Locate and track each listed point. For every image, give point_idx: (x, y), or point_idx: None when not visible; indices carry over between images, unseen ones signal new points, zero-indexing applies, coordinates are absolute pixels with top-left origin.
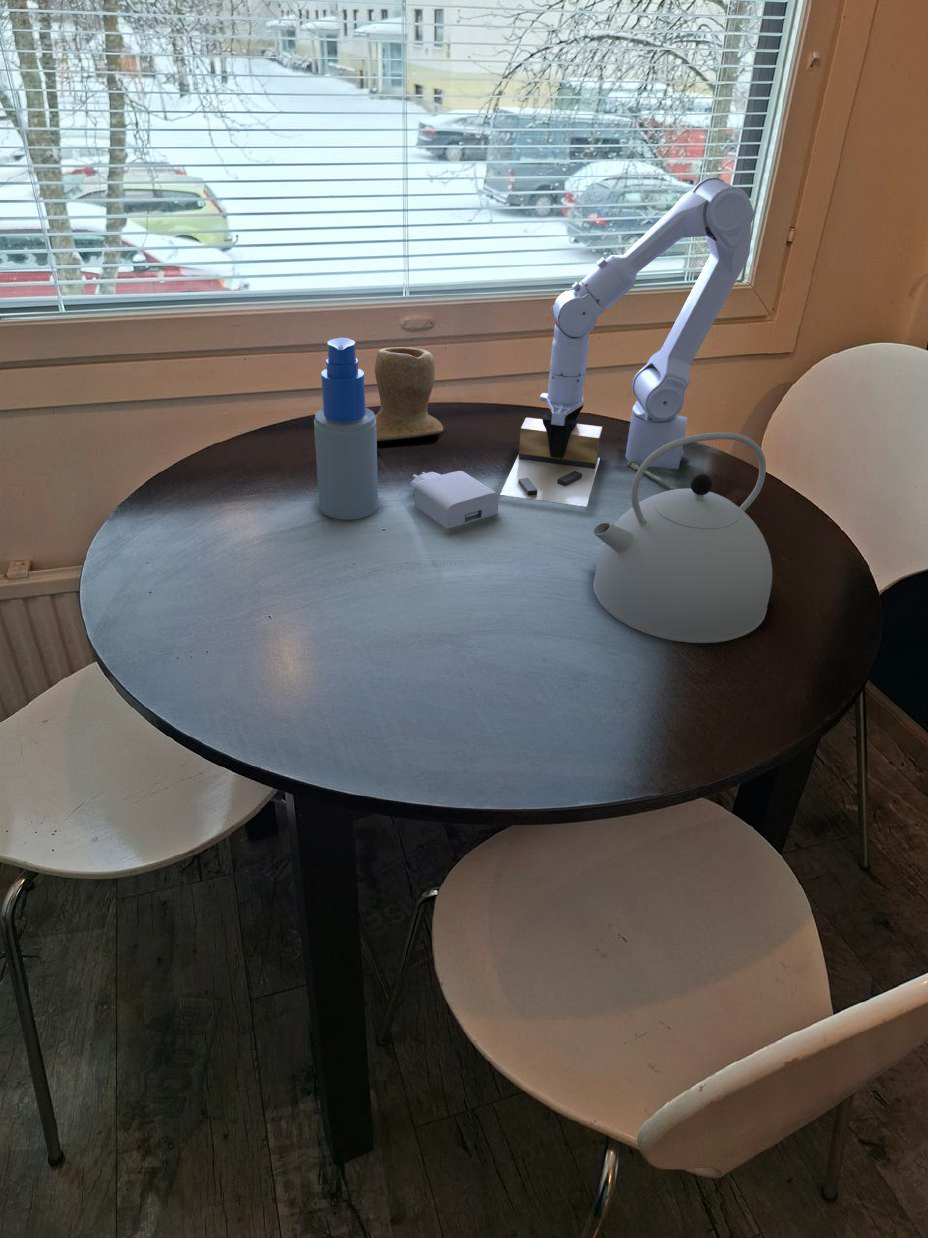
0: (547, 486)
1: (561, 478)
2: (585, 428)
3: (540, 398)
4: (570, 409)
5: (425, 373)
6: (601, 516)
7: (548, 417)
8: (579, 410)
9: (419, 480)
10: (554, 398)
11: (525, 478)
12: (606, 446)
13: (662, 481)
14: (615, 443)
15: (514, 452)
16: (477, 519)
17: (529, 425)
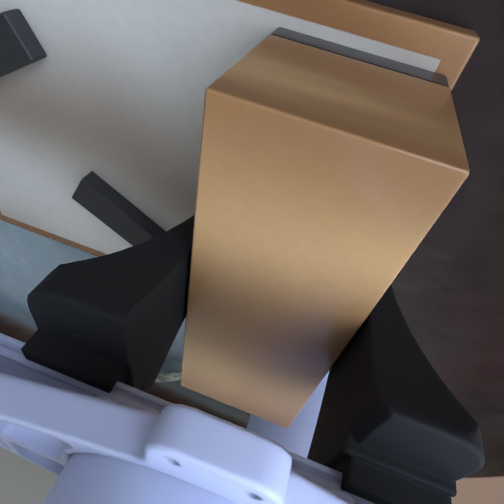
0: (54, 133)
1: (89, 191)
2: (263, 388)
3: (167, 424)
4: (22, 451)
5: None
6: (19, 231)
7: (71, 322)
8: (307, 458)
9: None
10: (53, 488)
11: (21, 49)
12: (440, 367)
13: (160, 377)
14: (459, 391)
15: (466, 4)
16: None
17: (272, 169)
